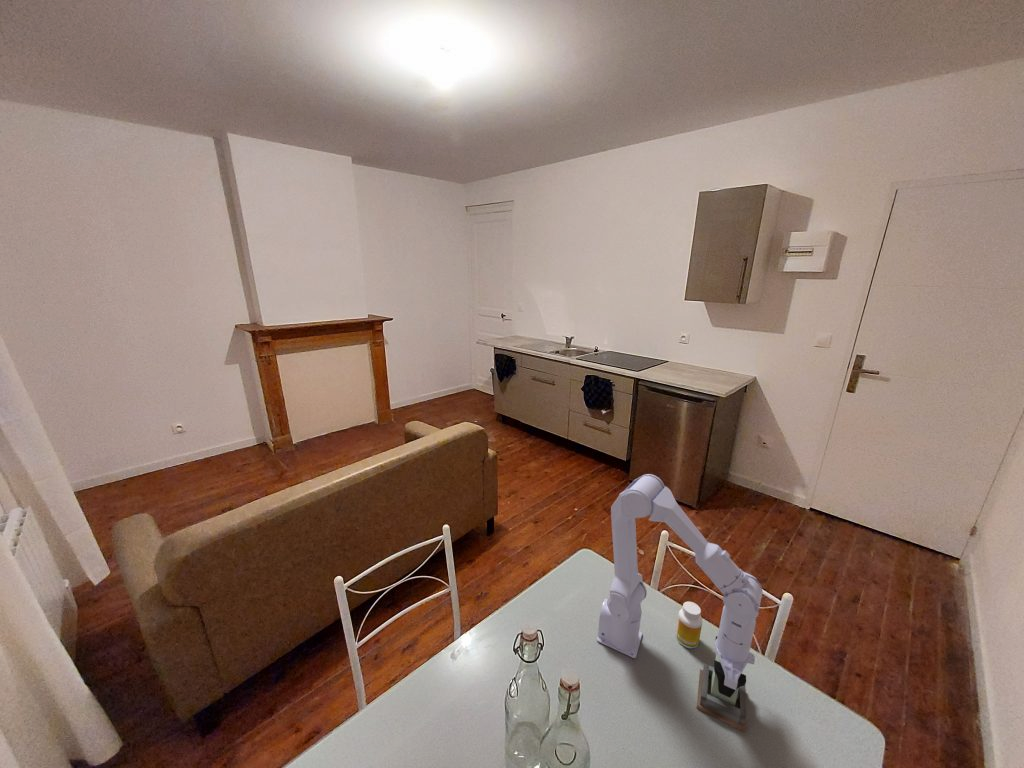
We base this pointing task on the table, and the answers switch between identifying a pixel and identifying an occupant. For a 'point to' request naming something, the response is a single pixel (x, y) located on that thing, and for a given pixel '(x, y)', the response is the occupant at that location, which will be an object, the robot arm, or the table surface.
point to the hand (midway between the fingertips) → (724, 683)
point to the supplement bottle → (689, 625)
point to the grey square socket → (721, 702)
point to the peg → (715, 690)
